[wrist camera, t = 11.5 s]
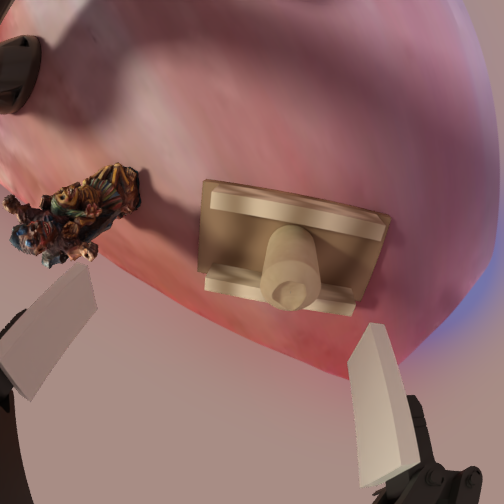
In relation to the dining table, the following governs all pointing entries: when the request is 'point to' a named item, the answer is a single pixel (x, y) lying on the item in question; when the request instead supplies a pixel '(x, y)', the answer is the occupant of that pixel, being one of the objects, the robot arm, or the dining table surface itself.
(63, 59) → the dining table surface
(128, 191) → the figurine
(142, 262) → the dining table surface
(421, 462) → the robot arm
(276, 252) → the candle
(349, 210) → the rack
